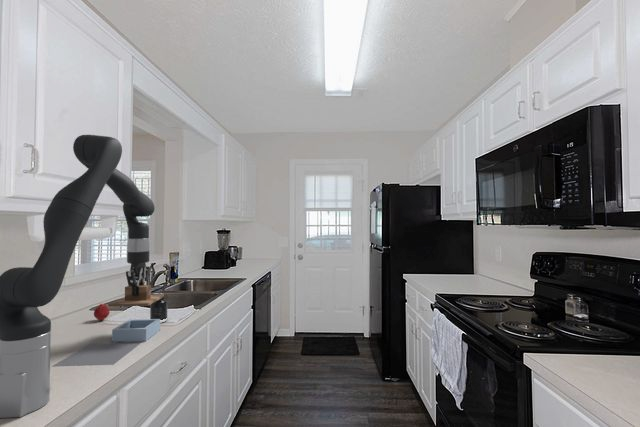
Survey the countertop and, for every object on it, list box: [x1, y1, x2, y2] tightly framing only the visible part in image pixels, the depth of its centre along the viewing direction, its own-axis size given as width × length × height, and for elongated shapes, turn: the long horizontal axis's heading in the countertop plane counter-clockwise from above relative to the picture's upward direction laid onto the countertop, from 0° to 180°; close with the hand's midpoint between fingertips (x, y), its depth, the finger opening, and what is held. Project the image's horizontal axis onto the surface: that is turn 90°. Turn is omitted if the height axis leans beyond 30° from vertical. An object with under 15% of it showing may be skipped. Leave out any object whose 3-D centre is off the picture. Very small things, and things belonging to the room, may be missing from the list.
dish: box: [111, 318, 161, 343], centre depth 124 cm, size 12×12×5 cm
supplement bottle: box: [149, 293, 168, 320], centre depth 143 cm, size 7×7×12 cm
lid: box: [107, 284, 164, 307], centre depth 124 cm, size 14×14×6 cm
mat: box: [52, 342, 142, 367], centre depth 107 cm, size 18×18×1 cm
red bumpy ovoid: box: [93, 302, 110, 322], centre depth 144 cm, size 6×6×8 cm
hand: (138, 294), depth 124 cm, fingers closed on lid, 3 cm apart
